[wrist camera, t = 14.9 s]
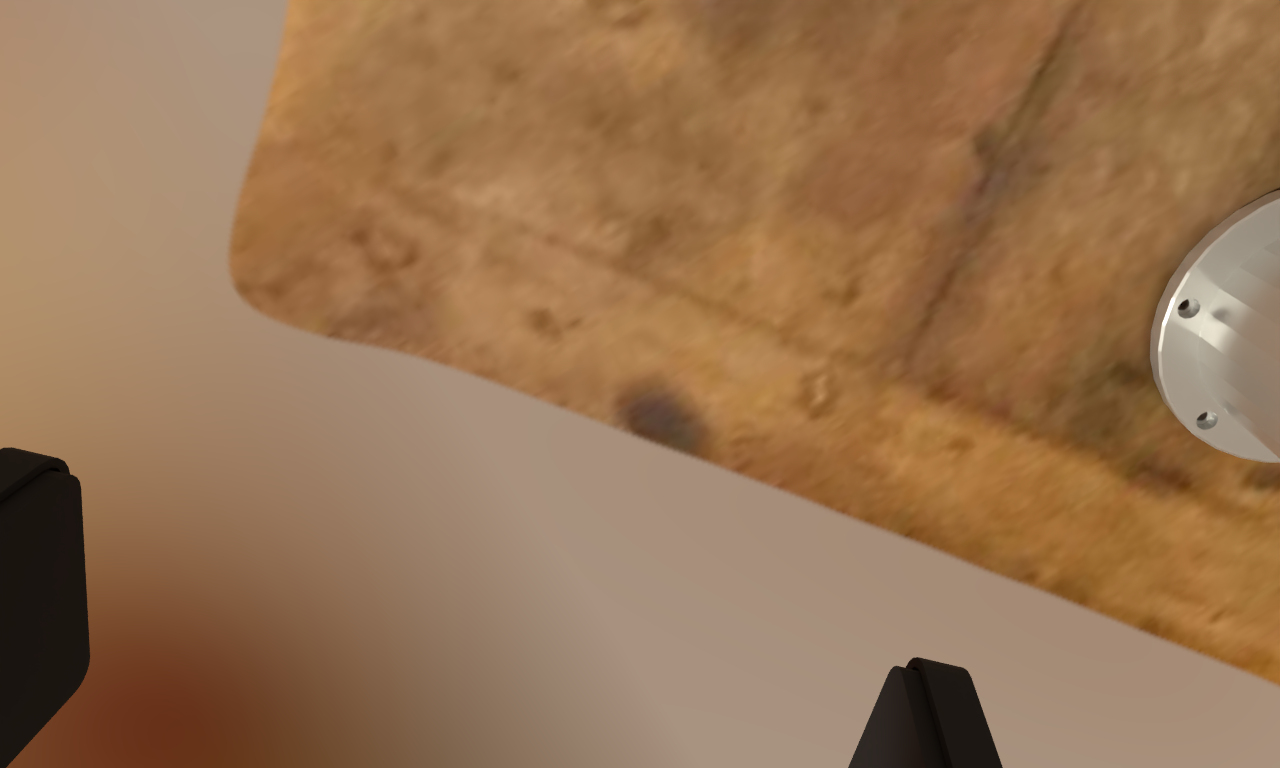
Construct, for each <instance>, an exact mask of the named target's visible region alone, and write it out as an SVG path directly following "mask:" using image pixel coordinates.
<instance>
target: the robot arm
mask: <svg viewBox="0 0 1280 768" xmlns="http://www.w3.org/2000/svg"><path fill="white" fill-rule="evenodd" d="M1183 301H1184V303H1183V305H1181V306H1179V305H1180V304H1181V302H1183ZM1178 306H1179V307H1178ZM1150 360H1151V365H1152V371H1153V376H1154V381H1155V383H1156V385H1157V387H1158V390H1159V392H1160V394H1161V396H1162V399H1163V401H1164V402H1165V404H1166V405H1167V406H1168V408H1169V409H1170V410H1171V411H1172V413H1173V414H1174V415H1175V417H1176V418H1177V419H1178V420H1179V421H1180V422H1181V423H1182V424H1183V425H1184V426H1185V427H1186V428H1187V429H1188V430H1189V431H1190V432H1191V433H1192V434H1194V435H1195V436H1196V437H1198V438H1199V439H1201V440H1203V441H1204V442H1206V443H1207V444H1209V445H1211V446H1212V447H1214V448H1215V449H1217V450H1220V451H1223V452H1225V453H1228V454H1231V455H1233V456H1236V457H1239V458H1243V459H1249V460H1255V461H1260V462H1266V463H1280V190H1277V191H1274V192H1271V193H1269V194H1266V195H1265V196H1263V197H1261V198H1259V199H1257V200H1255V201H1253V202H1252V203H1250V204H1248V205H1246V206H1244V207H1242V208H1241V209H1239V210H1237V211H1236V212H1234V213H1233V214H1232V215H1230V216H1229V217H1228V218H1226V219H1225V220H1224V221H1222V222H1221V223H1220V224H1218V225H1217V226H1216V227H1215V228H1213V229H1212V230H1211V231H1210V232H1209V233H1208V234H1207V235H1206V236H1205V237H1204V238H1203V239H1202V240H1201V241H1200V242H1199V243H1198V244H1197V245H1196V246H1195V247H1194V248H1193V249H1192V250H1191V251H1190V252H1189V253H1188V254H1187V256H1186V257H1185V259H1184V260H1183V261H1182V263H1181V264H1180V266H1179V267H1178V269H1177V270H1176V271H1175V273H1174V274H1173V276H1172V277H1171V278H1170V280H1169V283H1168V285H1167V287H1166V289H1165V291H1164V293H1163V295H1162V297H1161V299H1160V302H1159V304H1158V306H1157V310H1156V314H1155V318H1154V322H1153V326H1152V330H1151V344H1150ZM89 660H90V648H89V630H88V611H87V592H86V573H85V554H84V535H83V516H82V497H81V486H80V482H79V480H78V478H77V477H75V476H73V475H70V472H69V468H68V466H67V465H66V463H65V461H63V460H61V459H59V458H54V457H51V456H46V455H42V454H38V453H33V452H29V451H25V450H20V449H16V448H2V449H0V768H6V767H7V766H8V765H9V764H10V763H11V761H13V759H14V758H15V757H16V756H17V755H18V754H19V753H20V752H21V751H22V750H23V749H24V747H25V746H26V745H27V744H28V743H29V742H30V741H31V740H32V739H33V737H35V735H36V734H37V733H38V732H39V731H40V730H41V729H42V728H43V727H44V725H45V724H46V723H47V722H48V721H49V720H50V719H51V718H52V717H53V716H54V715H55V714H56V713H57V711H58V710H59V709H60V708H61V707H62V706H63V705H64V704H65V703H66V701H67V700H68V699H69V698H70V697H71V696H72V695H73V694H74V693H75V692H76V690H77V689H78V688H79V686H80V685H81V683H82V681H83V680H84V677H85V675H86V673H87V670H88V666H89V662H90V661H89ZM848 768H1003V767H1002V765H1001V762H1000V759H999V756H998V753H997V750H996V747H995V744H994V742H993V739H992V736H991V733H990V730H989V727H988V725H987V722H986V719H985V716H984V713H983V710H982V707H981V704H980V701H979V699H978V696H977V693H976V690H975V687H974V685H973V681H972V678H971V677H970V674H969V673H968V671H967V670H966V669H964V668H962V667H957V666H953V665H949V664H944V663H940V662H936V661H931V660H927V659H923V658H918V657H917V658H912V660H910V661H909V663H908V665H907V666H906V668H904V667H899V666H894V667H893V668H892V669H891V670H890V672H889V674H888V676H887V678H886V681H885V683H884V686H883V688H882V690H881V692H880V695H879V697H878V700H877V702H876V704H875V706H874V709H873V711H872V714H871V716H870V718H869V720H868V723H867V725H866V728H865V730H864V732H863V735H862V737H861V739H860V741H859V744H858V746H857V748H856V751H855V753H854V755H853V758H852V760H851V762H850V765H849V767H848Z"/></svg>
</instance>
